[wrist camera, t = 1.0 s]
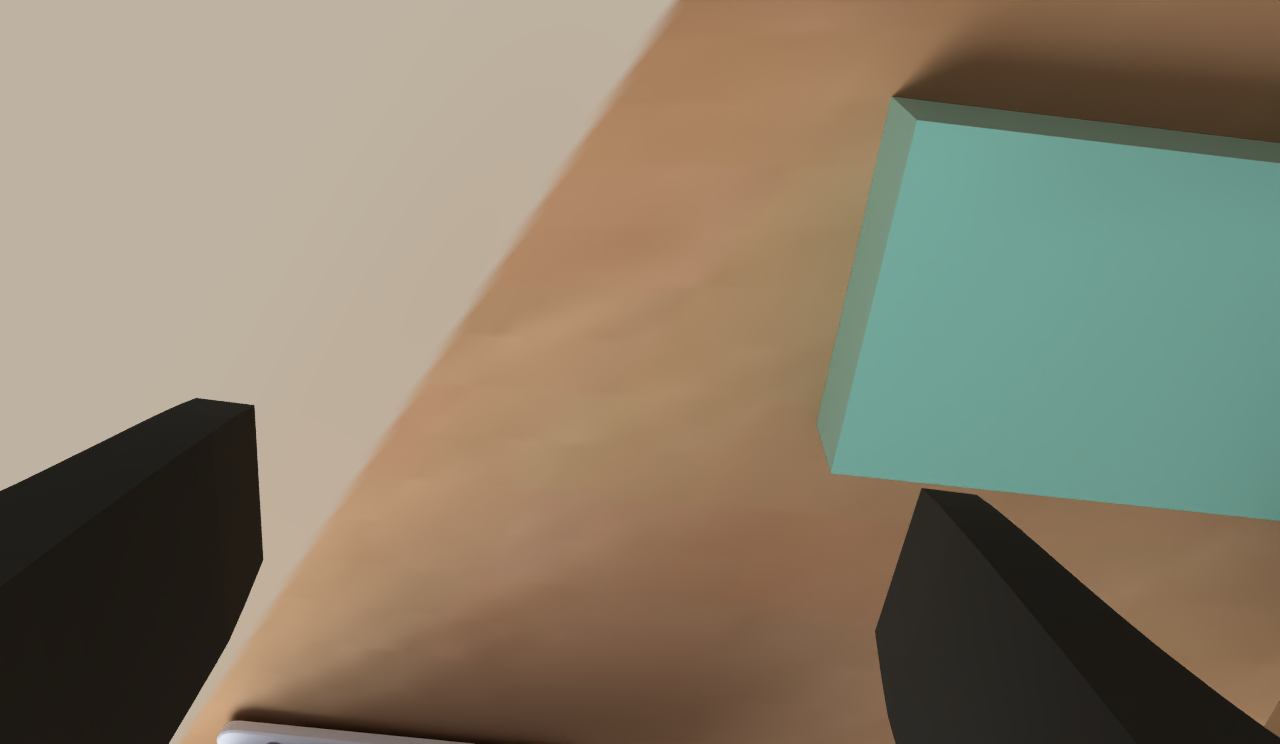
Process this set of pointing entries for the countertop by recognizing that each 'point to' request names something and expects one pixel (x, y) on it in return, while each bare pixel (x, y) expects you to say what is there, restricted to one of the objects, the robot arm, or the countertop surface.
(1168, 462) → the tile
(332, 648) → the countertop surface
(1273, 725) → the shelf
